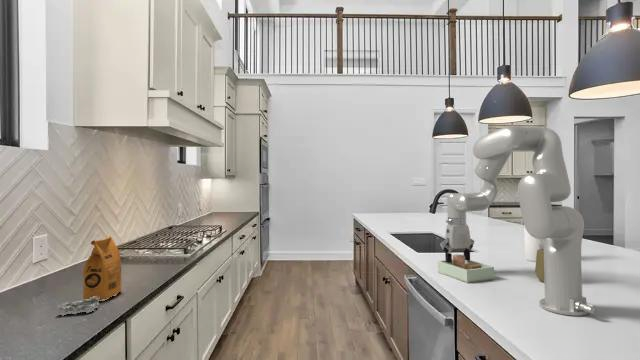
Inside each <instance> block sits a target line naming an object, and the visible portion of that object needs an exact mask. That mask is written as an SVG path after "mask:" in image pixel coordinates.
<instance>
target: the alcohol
mask: <svg viewBox="0 0 640 360" xmlns="http://www.w3.org/2000/svg"><path fill="white" fill-rule="evenodd" d="M523 235H524V236H523V239H524V241H523V242H524V243H523V245H524V259H525V260H526V261H527V262H531V263H536V256H537V250H539V249H540V244H543V240H544V239H537V238H534V237H532V236H531V235H530V234H529V233H528V232H527V230H526V228H525V226H524V225H523Z"/></svg>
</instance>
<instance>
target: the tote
mask: <svg viewBox="0 0 640 360" xmlns="http://www.w3.org/2000/svg"><path fill="white" fill-rule="evenodd" d="M465 263H475V264H479V265H481V268H477V269H469V270H466V269H463V268H460V267H457V266H454V265H453V258H452V263H449V262H446V259H444V260H437V273H438V274H441V275H444V276H446V277H449V278H452V279H455V280H458V281H460V282H463V283H464V284H465V283H466V284H470V283H471V284H473V283H477V282H486V281H493V280H495V267H494V266H492V265H488V264H484V263H481V262H478V261H475V260H471V259H470V261H468V260H465Z"/></svg>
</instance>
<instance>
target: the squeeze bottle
mask: <svg viewBox="0 0 640 360" xmlns="http://www.w3.org/2000/svg"><path fill="white" fill-rule="evenodd" d="M545 241H546V239H544V240H543V244H540V249H539V250H537V256H536V262H535V270H534V271H535V275H536V277H537V279H538V281H540V282H541V283H545V282H544V245H545Z"/></svg>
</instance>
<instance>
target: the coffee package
mask: <svg viewBox="0 0 640 360" xmlns="http://www.w3.org/2000/svg"><path fill="white" fill-rule="evenodd" d="M90 245H93V246H94V247H93V248H92V250H91V254H90V255H89V256H88V258H87V260H86V262H85V263H84V267H83V270H82V279H83V280H82V281H83V287H82V288H83V292H82V293H83V294H82V295H83V296H82V298H83V300H85V299H90V297H93V296H94V297H95V296H100V298H99V299H98V300H102V299H107V298H109V297H111V296H113V295H115V294H118V293H119V292H120V291H121V292H122V262H121V261H122V259H121V253H120V250H119V248H118V246H117V245H116V242H115V241H114V239H113V238H112V236H110V235H109V236H106V238H103V239H95V240H94V239H92V241H91V242H90ZM121 292H120V293H121ZM120 293H119V294H120ZM119 294H118V295H119ZM111 298H112V297H111Z"/></svg>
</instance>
